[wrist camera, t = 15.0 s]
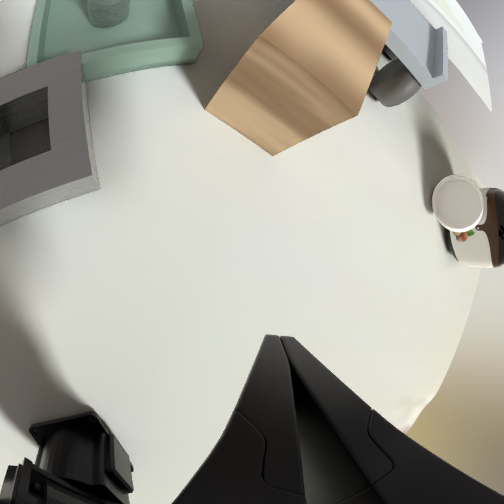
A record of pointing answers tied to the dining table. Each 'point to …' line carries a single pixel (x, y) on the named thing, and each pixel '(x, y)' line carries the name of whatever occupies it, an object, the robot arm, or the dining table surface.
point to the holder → (61, 136)
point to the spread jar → (471, 220)
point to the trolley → (409, 54)
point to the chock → (303, 72)
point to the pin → (107, 12)
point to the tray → (116, 36)
